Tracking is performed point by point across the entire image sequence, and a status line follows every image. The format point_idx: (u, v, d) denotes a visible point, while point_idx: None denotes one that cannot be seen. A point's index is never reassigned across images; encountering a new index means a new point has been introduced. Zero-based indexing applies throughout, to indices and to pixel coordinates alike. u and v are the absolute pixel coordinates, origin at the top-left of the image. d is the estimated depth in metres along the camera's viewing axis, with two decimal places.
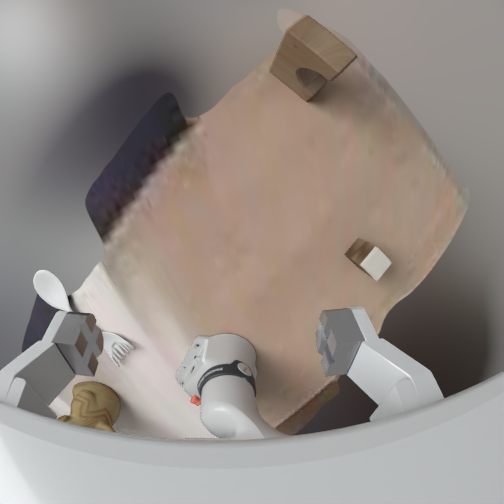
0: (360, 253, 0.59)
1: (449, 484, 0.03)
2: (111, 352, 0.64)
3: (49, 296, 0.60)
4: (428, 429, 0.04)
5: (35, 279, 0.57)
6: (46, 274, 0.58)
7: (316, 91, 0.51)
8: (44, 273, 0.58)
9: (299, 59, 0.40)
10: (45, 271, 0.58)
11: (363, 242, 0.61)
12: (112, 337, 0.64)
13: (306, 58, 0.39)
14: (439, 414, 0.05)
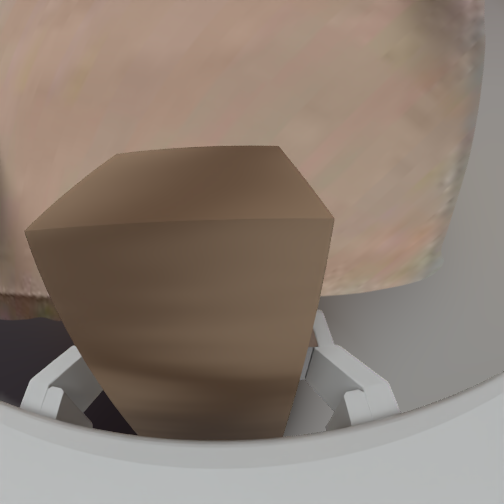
0: (185, 414, 0.07)
1: (449, 484, 0.03)
2: None
3: None
4: (428, 429, 0.04)
5: None
6: None
7: None
8: None
9: None
10: None
11: (286, 366, 0.06)
12: None
13: None
14: (439, 414, 0.05)
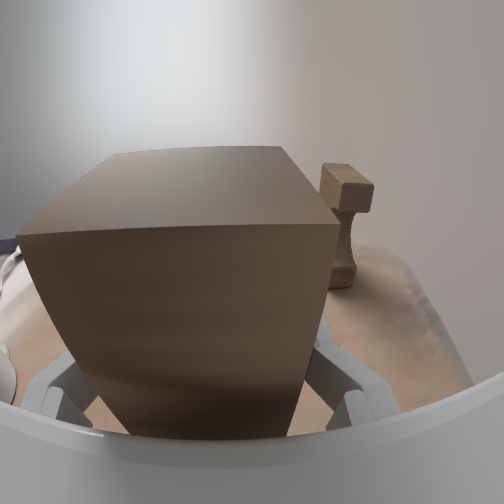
0: (183, 422, 0.07)
1: (449, 484, 0.03)
2: None
3: None
4: (428, 429, 0.04)
5: None
6: None
7: (336, 266, 0.48)
8: None
9: (325, 201, 0.48)
10: None
11: (288, 375, 0.06)
12: None
13: (328, 192, 0.47)
14: (439, 414, 0.05)
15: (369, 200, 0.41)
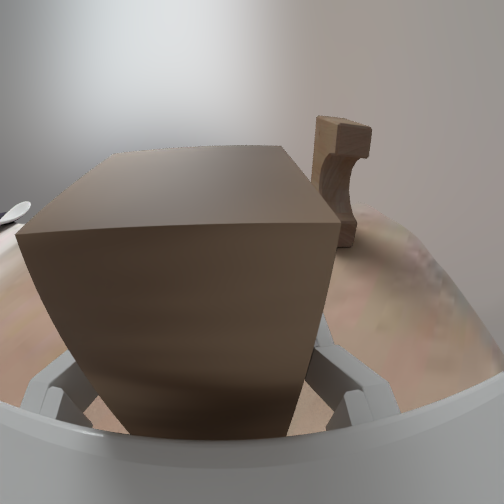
0: (183, 422, 0.07)
1: (449, 484, 0.03)
2: None
3: (9, 215, 0.55)
4: (428, 429, 0.04)
5: (22, 203, 0.59)
6: (27, 206, 0.58)
7: None
8: (28, 205, 0.59)
9: (321, 152, 0.44)
10: (29, 205, 0.59)
11: (288, 375, 0.06)
12: None
13: (323, 140, 0.42)
14: (439, 414, 0.05)
15: (367, 144, 0.37)
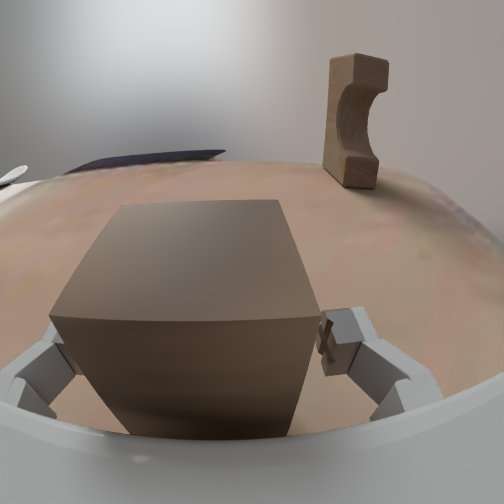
0: None
1: (449, 484, 0.03)
2: None
3: (4, 179, 0.50)
4: (428, 429, 0.04)
5: (19, 167, 0.54)
6: (23, 169, 0.53)
7: (356, 156, 0.38)
8: (24, 168, 0.53)
9: (336, 90, 0.38)
10: (26, 168, 0.53)
11: (280, 410, 0.07)
12: None
13: (339, 77, 0.36)
14: (439, 414, 0.05)
15: (385, 76, 0.31)
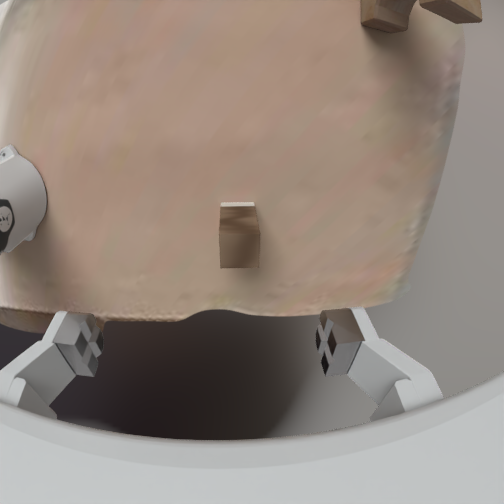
0: None
1: (449, 484, 0.03)
2: None
3: None
4: (428, 429, 0.04)
5: None
6: None
7: (384, 20, 0.25)
8: None
9: None
10: None
11: None
12: None
13: None
14: (439, 414, 0.05)
15: (464, 22, 0.15)
